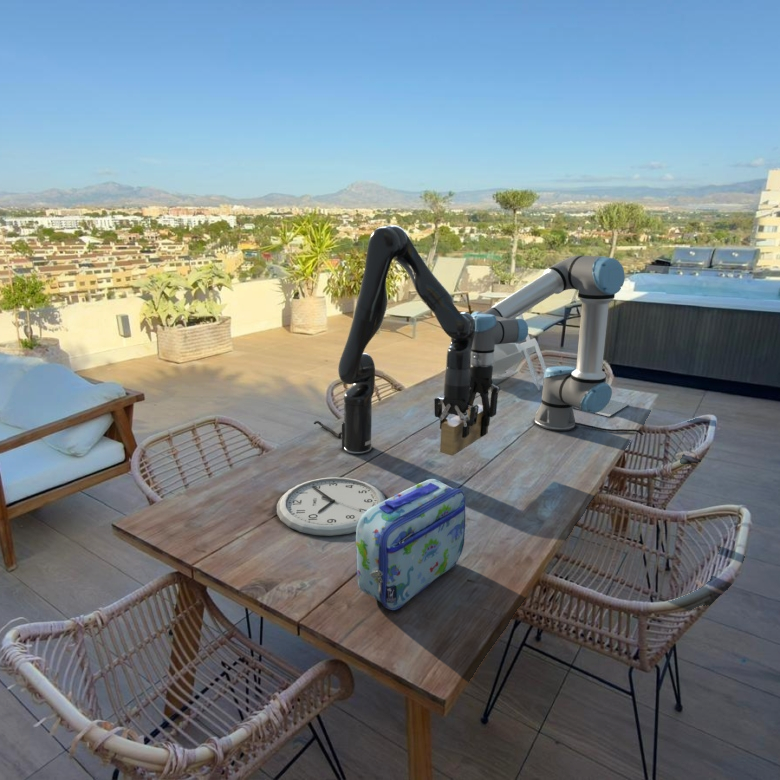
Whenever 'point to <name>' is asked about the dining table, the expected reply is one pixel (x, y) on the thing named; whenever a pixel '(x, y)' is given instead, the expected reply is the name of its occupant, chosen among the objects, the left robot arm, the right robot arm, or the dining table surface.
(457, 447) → the bar
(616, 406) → the thin gray rectangular panel
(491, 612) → the dining table surface
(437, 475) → the dining table surface
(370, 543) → the lunch box
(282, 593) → the dining table surface
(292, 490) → the wall clock
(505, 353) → the white plastic object
